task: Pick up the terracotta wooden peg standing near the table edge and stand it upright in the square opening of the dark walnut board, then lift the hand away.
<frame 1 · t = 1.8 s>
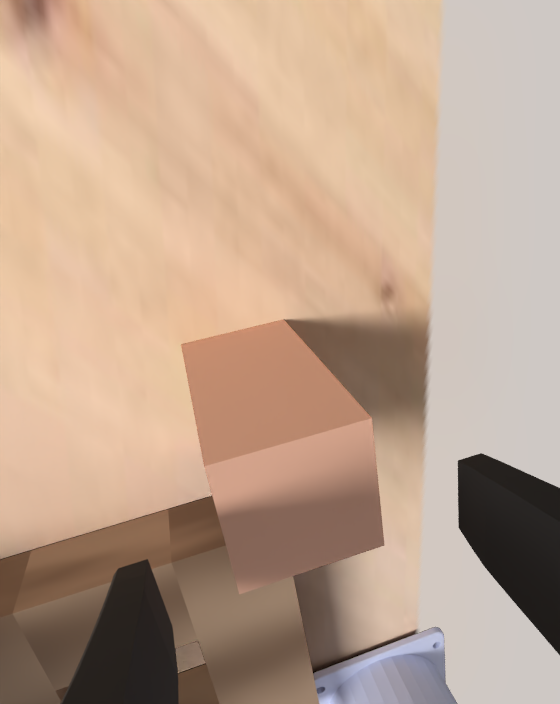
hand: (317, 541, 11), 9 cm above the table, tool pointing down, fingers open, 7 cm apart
terracotta peg: (243, 378, 19), on the table
walnut stand board: (147, 642, 22), on the table
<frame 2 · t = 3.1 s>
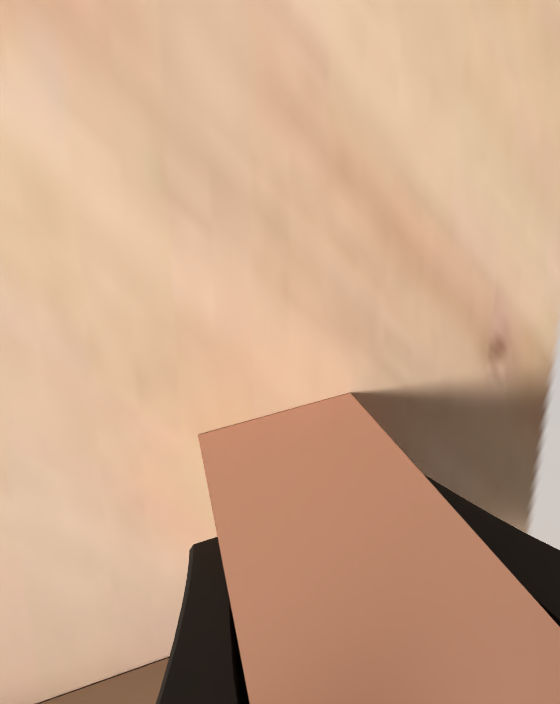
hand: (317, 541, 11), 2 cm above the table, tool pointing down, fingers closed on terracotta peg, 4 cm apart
terracotta peg: (288, 476, 13), on the table, touching gripper
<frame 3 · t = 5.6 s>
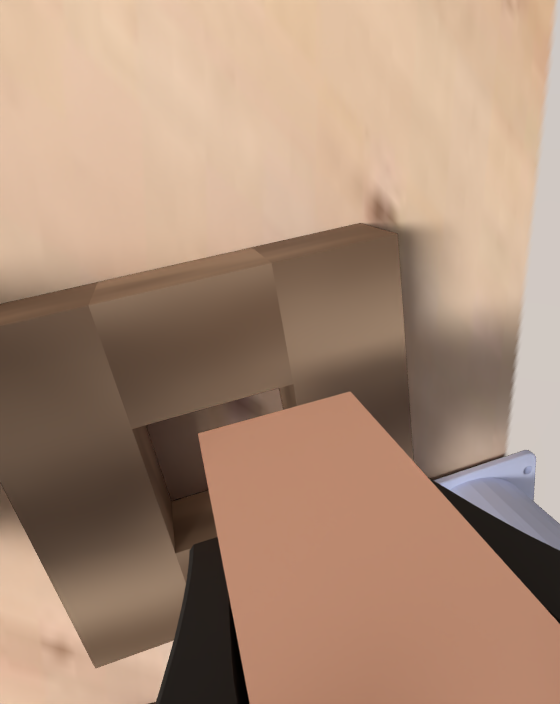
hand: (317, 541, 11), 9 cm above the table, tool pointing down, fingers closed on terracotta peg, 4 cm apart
terracotta peg: (288, 475, 13), point 7 cm above the table, touching gripper
walnut stand board: (220, 429, 20), on the table
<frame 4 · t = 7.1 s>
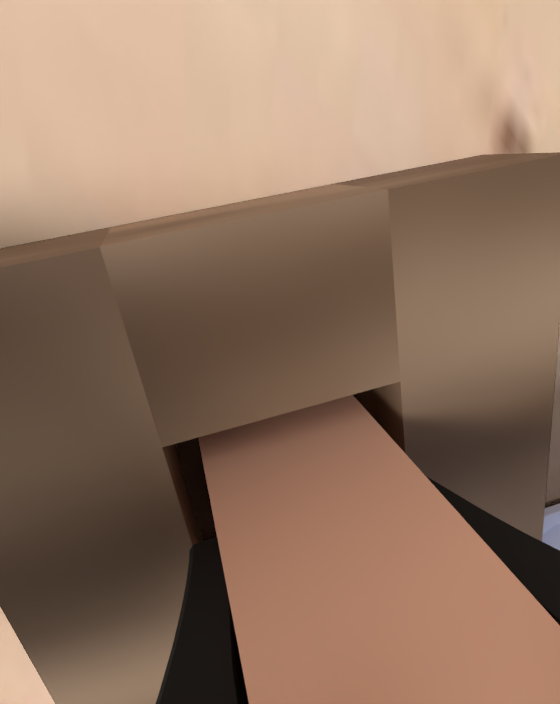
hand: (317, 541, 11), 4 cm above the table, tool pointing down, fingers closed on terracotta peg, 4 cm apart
terracotta peg: (287, 476, 13), point 2 cm above the table, touching gripper
walnut stand board: (274, 444, 14), on the table
when the fingers open (3 cm above the table, at t = 8.1 s): terracotta peg drops 1 cm, resting in walnut stand board.
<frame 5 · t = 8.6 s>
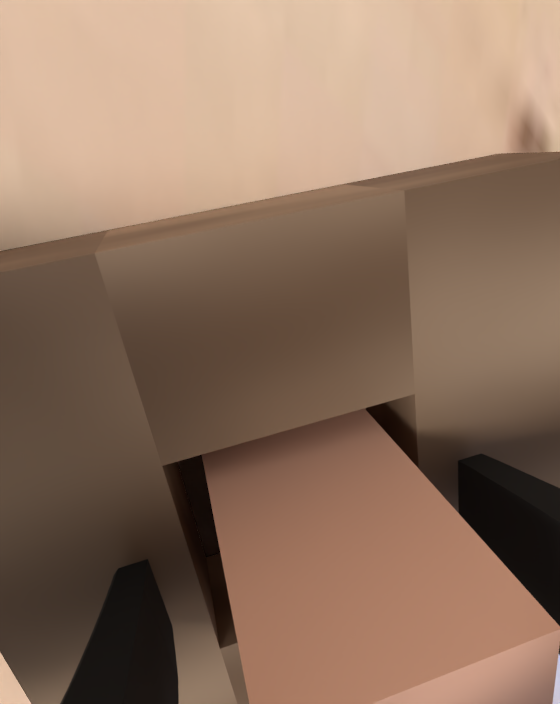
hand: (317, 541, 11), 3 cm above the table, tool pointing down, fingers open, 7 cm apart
terracotta peg: (278, 455, 14), resting in walnut stand board
walnut stand board: (279, 456, 14), on the table
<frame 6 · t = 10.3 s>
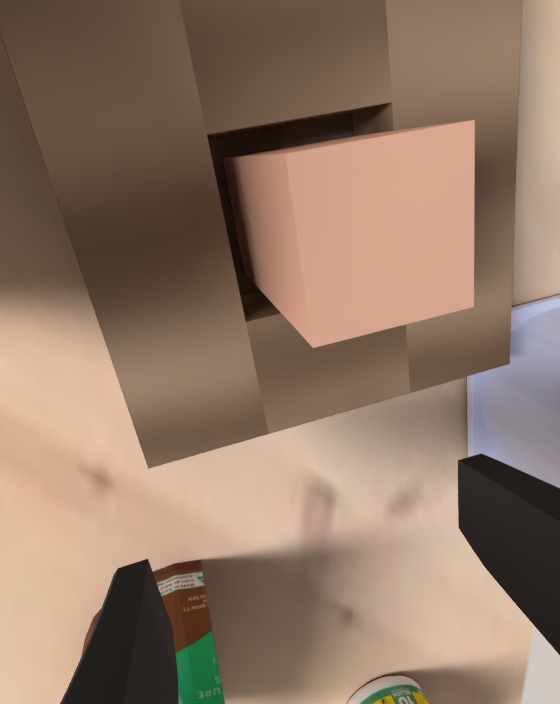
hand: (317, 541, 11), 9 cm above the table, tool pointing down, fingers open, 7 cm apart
terracotta peg: (288, 207, 17), resting in walnut stand board
food container: (127, 639, 23), on the table
supplement bottle: (378, 699, 30), on the table
walnut stand board: (289, 208, 17), on the table
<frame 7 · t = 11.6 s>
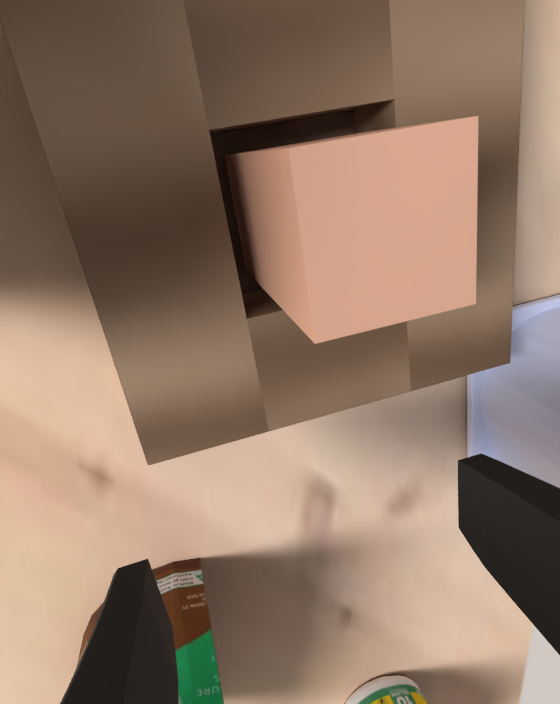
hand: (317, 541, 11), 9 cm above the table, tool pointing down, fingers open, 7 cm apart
terracotta peg: (289, 205, 17), resting in walnut stand board
food container: (125, 637, 23), on the table
supplement bottle: (377, 699, 30), on the table
walnut stand board: (290, 205, 17), on the table
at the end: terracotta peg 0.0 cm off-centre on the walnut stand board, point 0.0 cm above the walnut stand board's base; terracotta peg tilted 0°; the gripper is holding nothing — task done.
